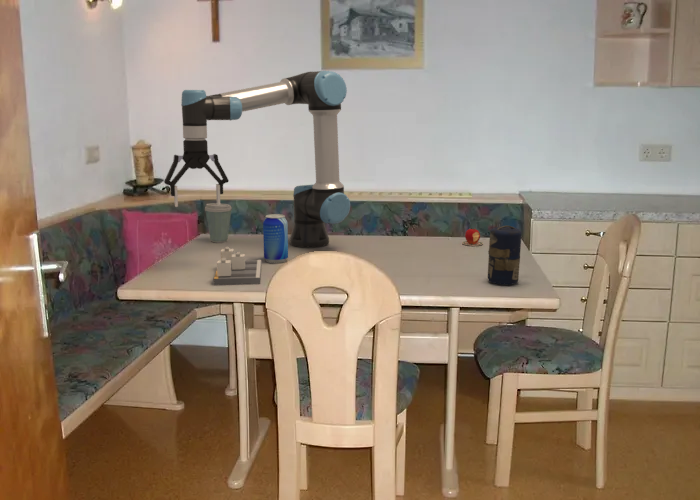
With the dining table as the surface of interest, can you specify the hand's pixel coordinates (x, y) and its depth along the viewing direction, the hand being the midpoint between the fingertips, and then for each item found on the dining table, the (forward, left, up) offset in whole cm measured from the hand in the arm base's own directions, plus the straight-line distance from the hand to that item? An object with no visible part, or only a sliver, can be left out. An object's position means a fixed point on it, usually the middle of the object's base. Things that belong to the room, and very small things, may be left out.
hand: (197, 205), depth 226 cm
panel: (-13, +9, -22) cm, 27 cm away
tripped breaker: (-13, +9, -19) cm, 25 cm away
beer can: (-25, -9, -22) cm, 34 cm away
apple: (-101, -29, -22) cm, 107 cm away
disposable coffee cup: (-3, -44, -22) cm, 49 cm away
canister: (-95, +26, -22) cm, 101 cm away
